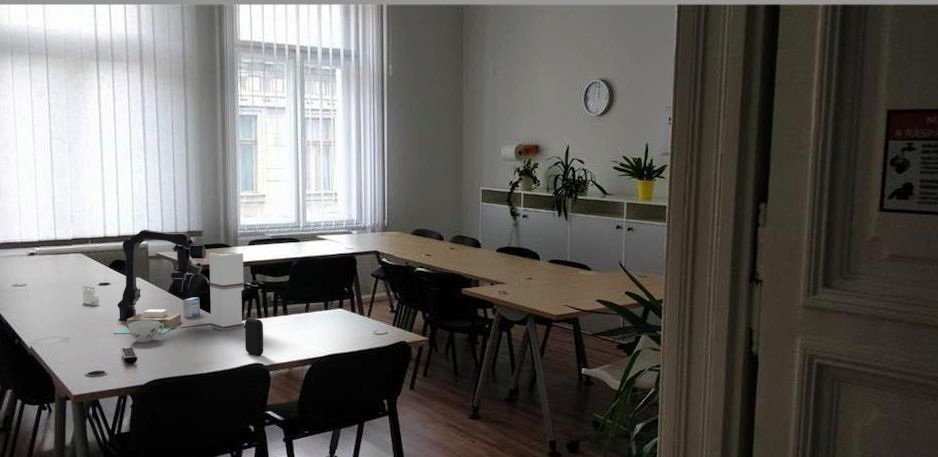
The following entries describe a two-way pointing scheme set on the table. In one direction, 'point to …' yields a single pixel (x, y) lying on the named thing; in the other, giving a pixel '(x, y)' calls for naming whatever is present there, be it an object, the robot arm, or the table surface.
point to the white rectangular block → (155, 313)
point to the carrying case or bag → (254, 336)
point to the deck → (158, 319)
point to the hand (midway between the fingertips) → (184, 290)
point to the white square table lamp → (226, 290)
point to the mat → (127, 331)
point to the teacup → (144, 330)
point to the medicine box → (191, 307)
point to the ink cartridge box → (90, 296)
